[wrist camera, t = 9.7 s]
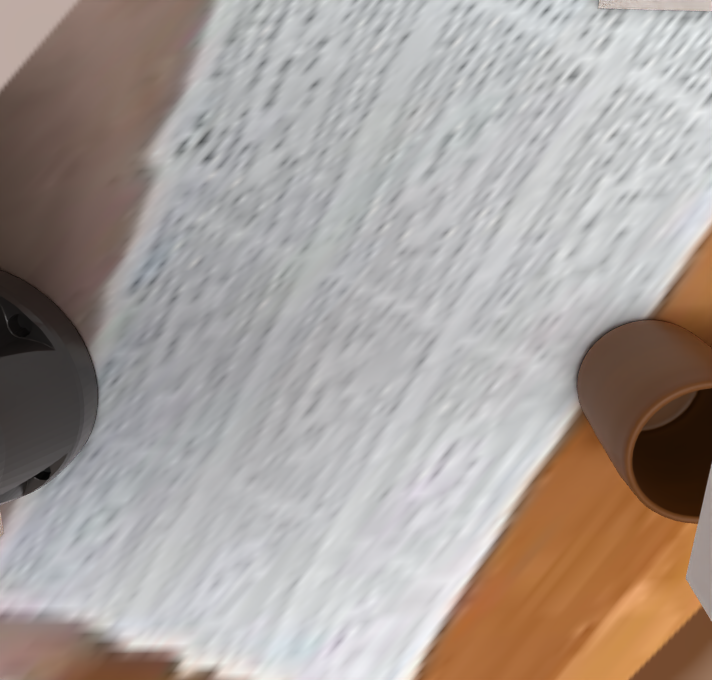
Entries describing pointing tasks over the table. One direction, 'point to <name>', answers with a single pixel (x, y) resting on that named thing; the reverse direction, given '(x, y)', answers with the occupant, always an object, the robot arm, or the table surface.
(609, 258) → the table surface
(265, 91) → the table surface
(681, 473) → the mug
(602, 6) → the scale
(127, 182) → the table surface
